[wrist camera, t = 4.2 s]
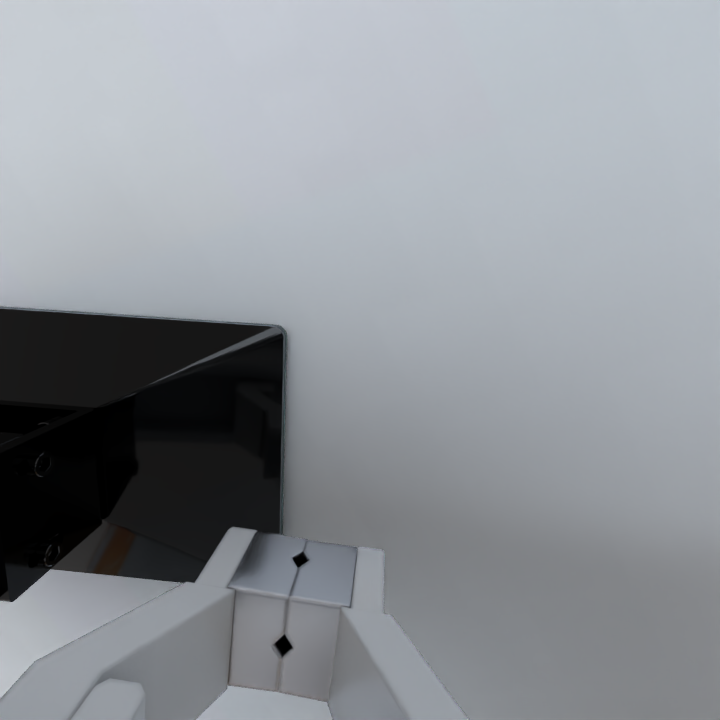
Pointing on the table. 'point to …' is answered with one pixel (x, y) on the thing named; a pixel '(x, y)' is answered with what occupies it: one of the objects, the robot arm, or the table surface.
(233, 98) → the table surface
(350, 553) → the robot arm
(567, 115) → the table surface
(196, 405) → the build plate
